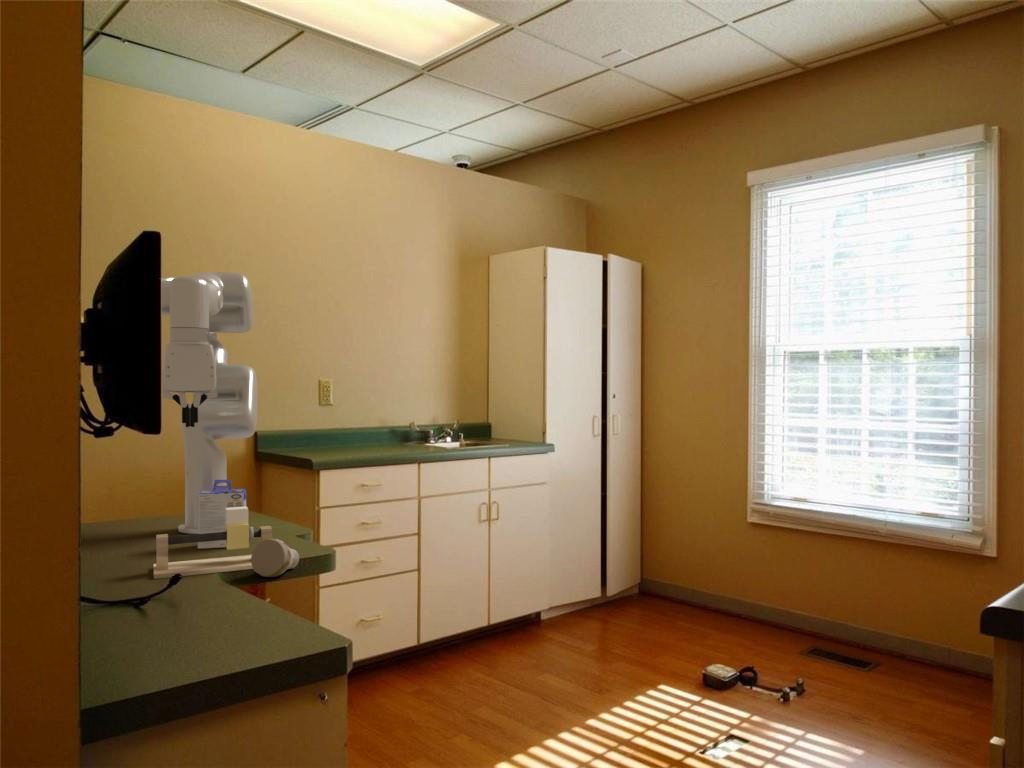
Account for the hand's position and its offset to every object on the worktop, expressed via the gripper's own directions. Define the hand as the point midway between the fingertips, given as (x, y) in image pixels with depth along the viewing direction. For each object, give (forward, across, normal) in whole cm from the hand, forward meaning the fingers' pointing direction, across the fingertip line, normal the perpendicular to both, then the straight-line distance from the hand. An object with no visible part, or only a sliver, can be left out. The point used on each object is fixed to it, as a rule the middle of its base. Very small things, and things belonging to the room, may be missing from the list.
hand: (190, 426), depth 158 cm
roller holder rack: (+27, -4, +11) cm, 30 cm away
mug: (+27, -14, +20) cm, 37 cm away
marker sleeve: (+23, -8, +11) cm, 27 cm away
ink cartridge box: (+27, -7, -9) cm, 30 cm away
